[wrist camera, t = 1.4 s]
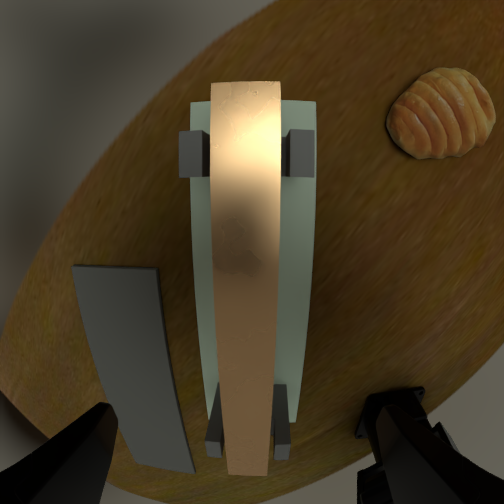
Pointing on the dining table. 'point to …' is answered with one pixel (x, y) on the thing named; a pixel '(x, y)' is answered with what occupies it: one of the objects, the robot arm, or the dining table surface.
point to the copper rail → (245, 262)
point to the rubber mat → (134, 360)
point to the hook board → (290, 263)
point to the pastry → (441, 115)
